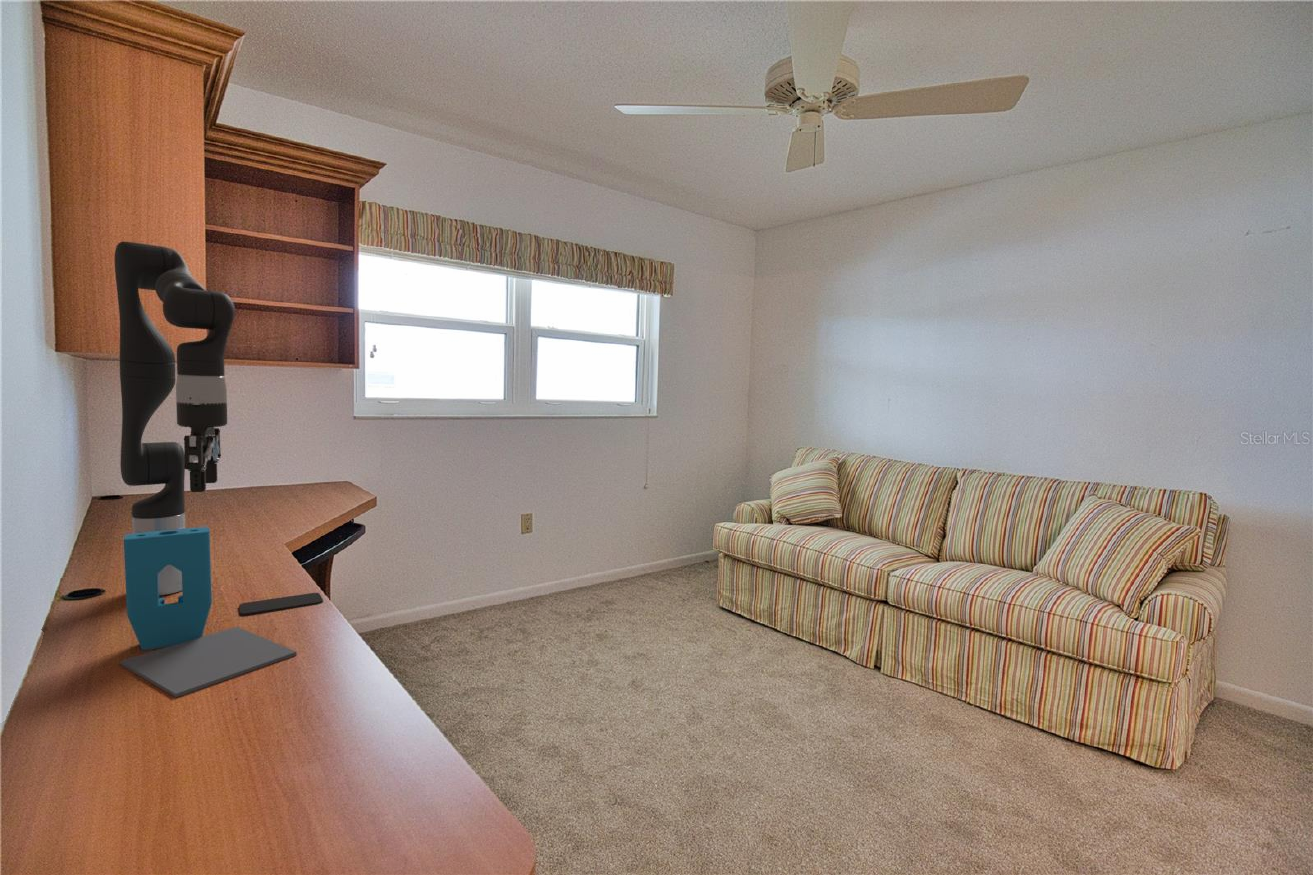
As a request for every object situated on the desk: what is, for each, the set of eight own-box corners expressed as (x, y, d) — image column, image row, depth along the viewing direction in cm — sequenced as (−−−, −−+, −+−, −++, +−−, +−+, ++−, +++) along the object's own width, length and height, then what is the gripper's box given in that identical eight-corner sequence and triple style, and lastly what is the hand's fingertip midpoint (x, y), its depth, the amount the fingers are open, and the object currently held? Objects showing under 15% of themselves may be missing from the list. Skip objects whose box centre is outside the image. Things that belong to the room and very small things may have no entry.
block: (128, 653, 108) (123, 540, 106) (130, 643, 112) (125, 534, 110) (213, 638, 115) (209, 531, 114) (212, 629, 119) (209, 526, 118)
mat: (119, 664, 104) (119, 661, 104) (237, 629, 119) (237, 626, 119) (175, 697, 94) (175, 693, 94) (296, 654, 109) (296, 651, 109)
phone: (323, 601, 135) (240, 614, 126) (323, 605, 135) (240, 618, 126) (318, 591, 141) (238, 603, 132) (318, 595, 141) (238, 607, 132)
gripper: (188, 397, 120) (190, 480, 121) (164, 402, 107) (167, 495, 108) (234, 398, 123) (236, 479, 124) (217, 403, 110) (219, 494, 111)
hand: (204, 487), depth 116 cm, fingers open, 8 cm apart
